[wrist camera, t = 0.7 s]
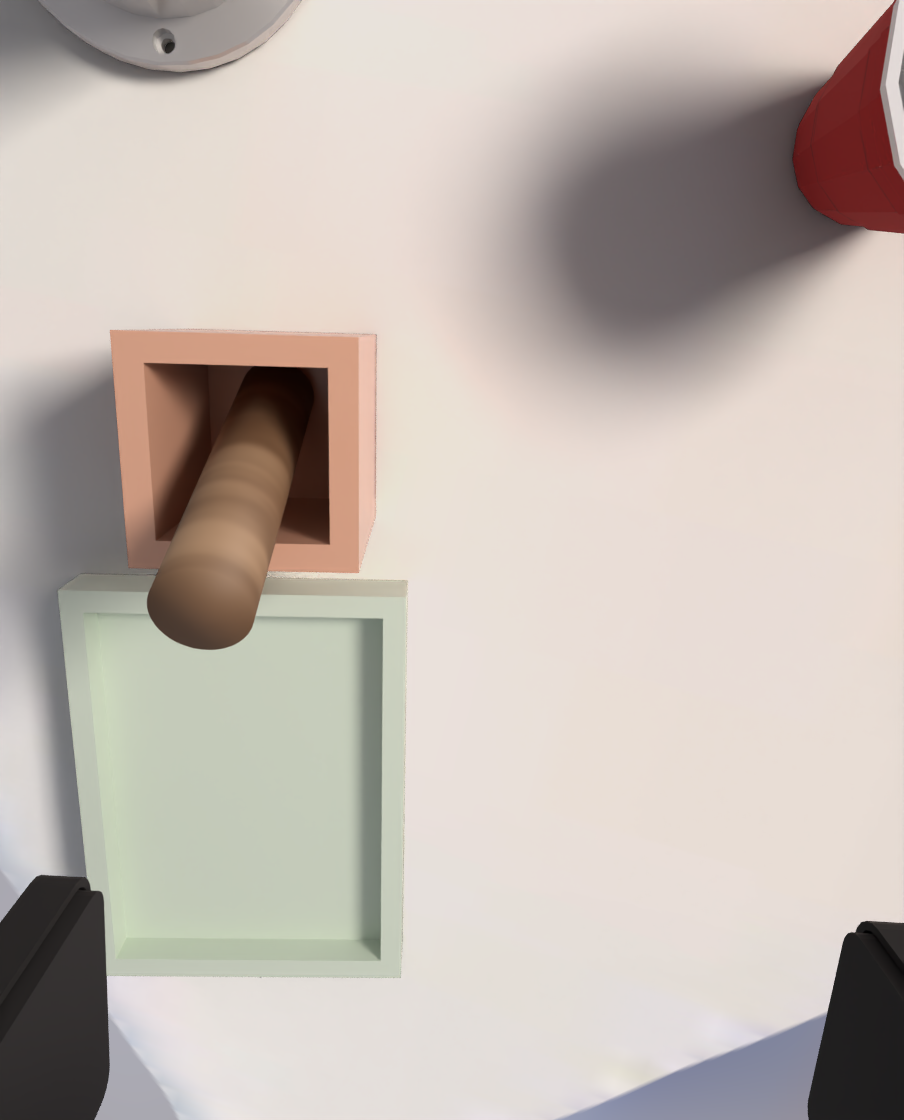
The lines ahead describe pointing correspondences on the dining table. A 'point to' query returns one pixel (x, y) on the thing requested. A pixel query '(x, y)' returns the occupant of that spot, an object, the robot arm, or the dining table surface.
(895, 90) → the plastic cup
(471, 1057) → the dining table surface
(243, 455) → the dowel
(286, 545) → the pink square bin
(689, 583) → the dining table surface
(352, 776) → the tray
